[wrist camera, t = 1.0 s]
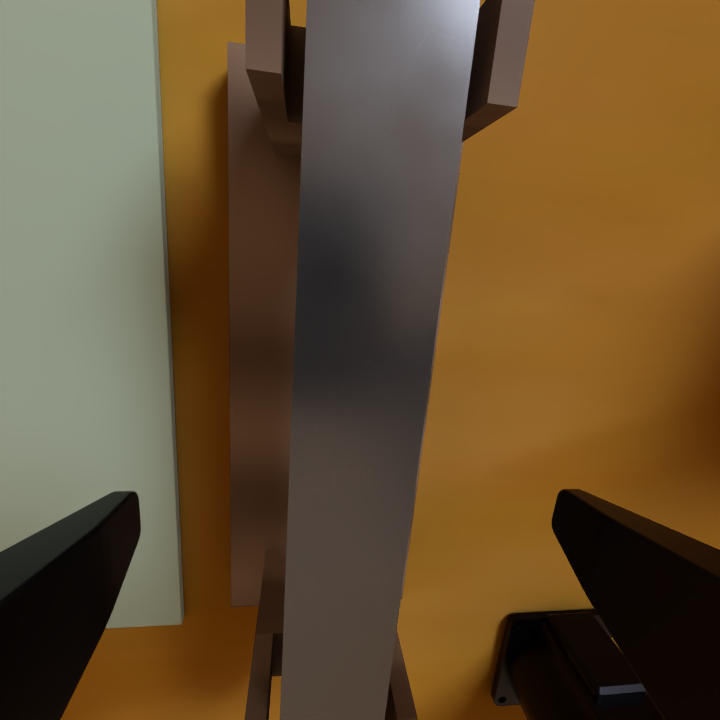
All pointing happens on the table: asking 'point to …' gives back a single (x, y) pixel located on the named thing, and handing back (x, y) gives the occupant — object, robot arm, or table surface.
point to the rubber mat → (87, 285)
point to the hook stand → (278, 296)
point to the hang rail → (365, 330)
